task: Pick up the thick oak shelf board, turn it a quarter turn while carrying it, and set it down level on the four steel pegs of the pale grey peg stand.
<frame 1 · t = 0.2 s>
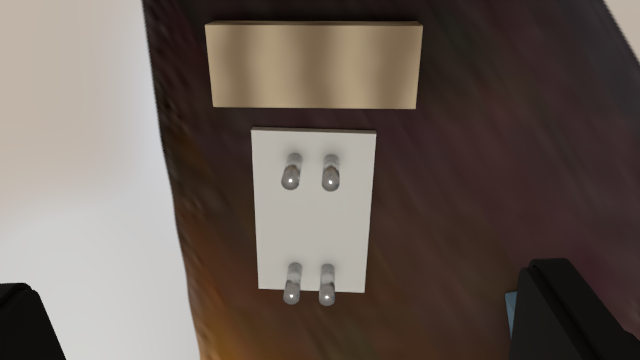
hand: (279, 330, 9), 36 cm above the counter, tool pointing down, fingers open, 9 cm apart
oak shelf board: (315, 60, 42), on the counter
peg stand: (312, 213, 49), on the counter
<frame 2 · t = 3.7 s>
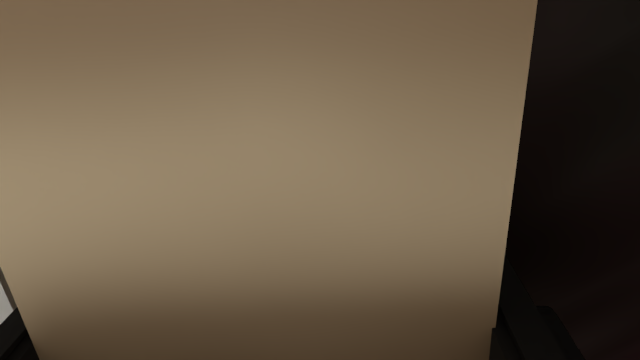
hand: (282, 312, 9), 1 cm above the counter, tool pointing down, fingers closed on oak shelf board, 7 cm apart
oak shelf board: (288, 277, 11), on the counter, touching gripper
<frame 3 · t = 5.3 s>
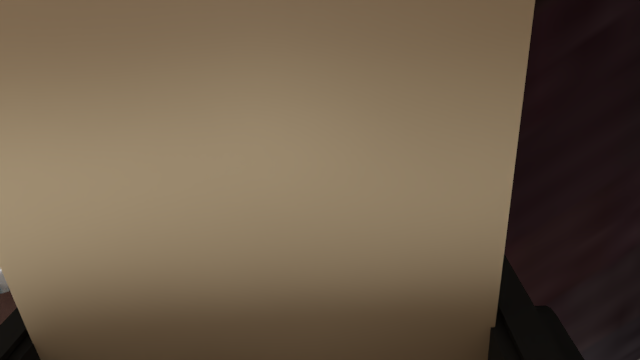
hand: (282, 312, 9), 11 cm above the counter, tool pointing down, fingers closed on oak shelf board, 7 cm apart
oak shelf board: (288, 277, 11), point 10 cm above the counter, touching gripper
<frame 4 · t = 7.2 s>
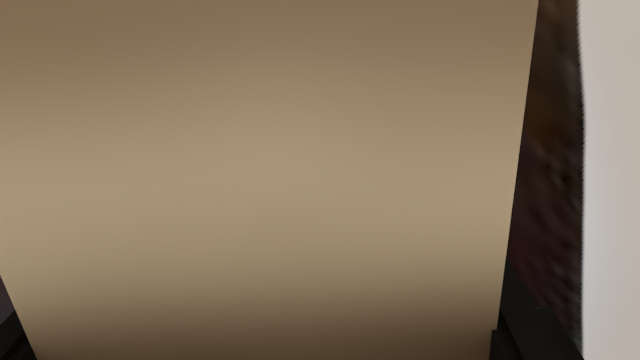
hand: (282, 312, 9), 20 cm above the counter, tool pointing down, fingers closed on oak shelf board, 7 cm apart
oak shelf board: (288, 279, 11), point 19 cm above the counter, touching gripper
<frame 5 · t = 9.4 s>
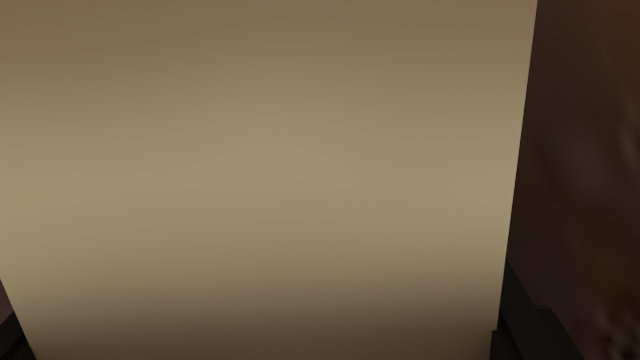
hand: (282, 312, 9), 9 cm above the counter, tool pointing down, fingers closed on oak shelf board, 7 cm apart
oak shelf board: (288, 278, 11), point 8 cm above the counter, touching gripper
when the fingers open (8 cm above the counter, at t = 11.0 s): oak shelf board stays where it is, resting on peg stand.
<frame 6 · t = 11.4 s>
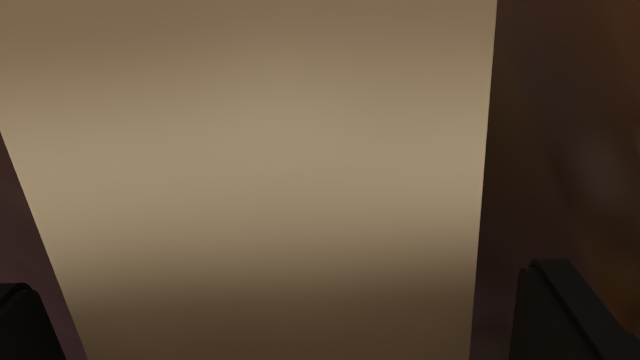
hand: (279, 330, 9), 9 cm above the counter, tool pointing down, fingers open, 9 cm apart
oak shelf board: (292, 256, 12), point 6 cm above the counter, touching peg stand
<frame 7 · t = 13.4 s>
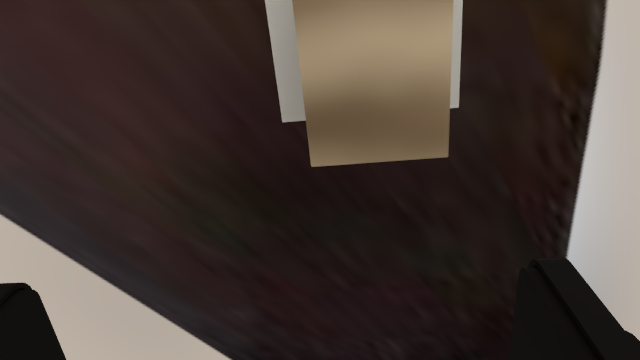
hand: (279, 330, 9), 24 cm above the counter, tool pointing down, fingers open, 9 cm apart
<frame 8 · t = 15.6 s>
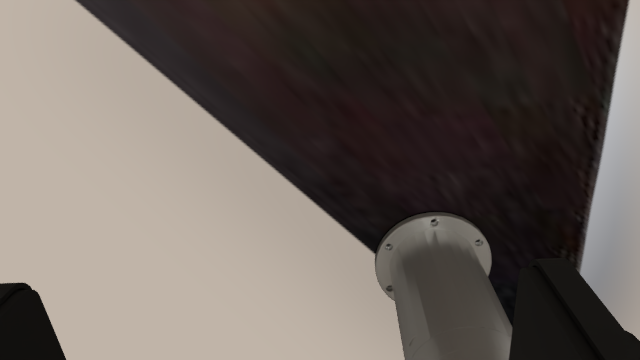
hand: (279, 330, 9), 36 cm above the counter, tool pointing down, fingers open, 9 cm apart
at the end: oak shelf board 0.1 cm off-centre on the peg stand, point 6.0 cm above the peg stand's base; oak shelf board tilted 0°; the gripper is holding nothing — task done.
